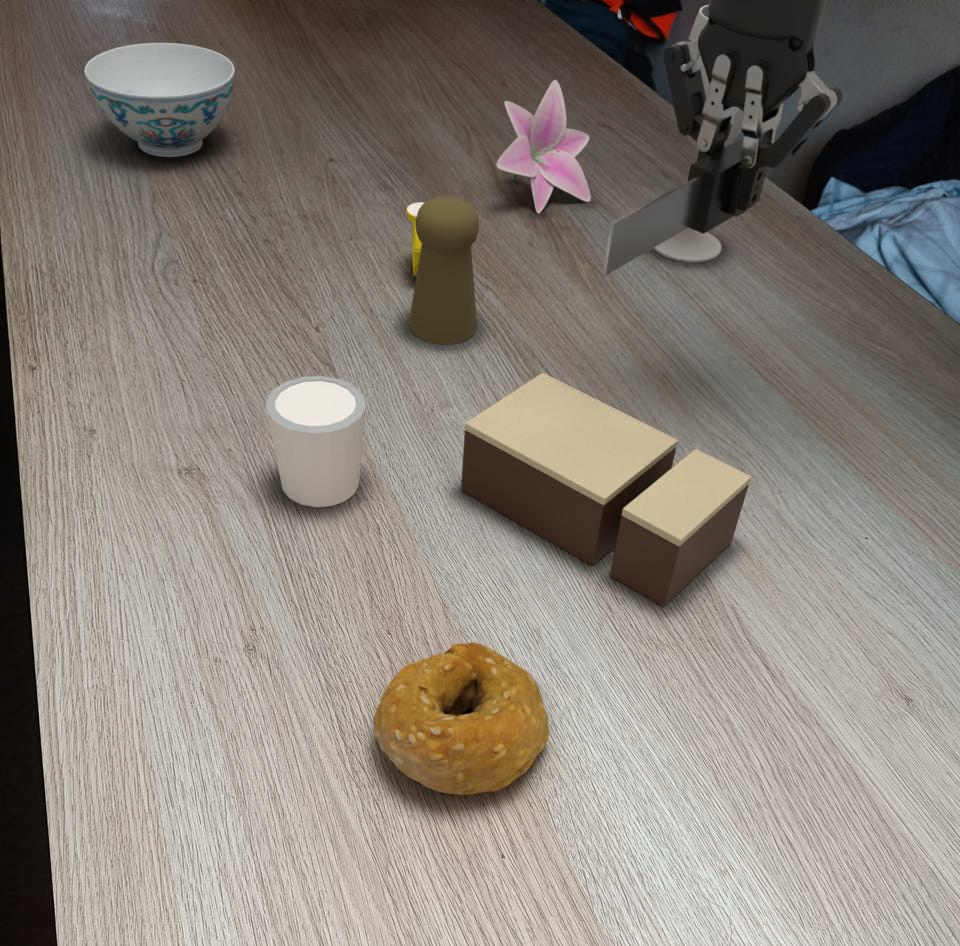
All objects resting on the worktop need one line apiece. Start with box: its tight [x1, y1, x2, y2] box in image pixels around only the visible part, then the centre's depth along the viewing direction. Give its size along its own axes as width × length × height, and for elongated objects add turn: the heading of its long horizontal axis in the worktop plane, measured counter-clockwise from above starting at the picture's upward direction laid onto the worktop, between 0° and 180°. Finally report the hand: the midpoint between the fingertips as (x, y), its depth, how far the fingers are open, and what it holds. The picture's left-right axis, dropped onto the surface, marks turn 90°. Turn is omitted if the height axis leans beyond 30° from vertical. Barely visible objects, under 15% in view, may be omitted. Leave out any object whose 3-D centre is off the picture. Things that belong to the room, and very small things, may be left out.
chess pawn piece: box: [408, 196, 480, 345], centre depth 93 cm, size 6×6×11 cm
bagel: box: [372, 642, 550, 796], centre depth 64 cm, size 10×11×5 cm
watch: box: [405, 201, 425, 278], centre depth 101 cm, size 6×3×6 cm, turn 4°
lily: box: [495, 79, 592, 214], centre depth 114 cm, size 12×12×10 cm
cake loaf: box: [460, 372, 679, 566], centre depth 79 cm, size 9×12×6 cm
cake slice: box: [609, 448, 752, 607], centre depth 75 cm, size 9×4×6 cm, turn 141°
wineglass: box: [652, 4, 743, 263], centre depth 103 cm, size 8×8×21 cm
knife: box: [602, 137, 769, 276], centre depth 79 cm, size 19×2×4 cm, turn 139°
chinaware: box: [84, 42, 236, 158], centre depth 116 cm, size 15×15×8 cm
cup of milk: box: [265, 375, 367, 508], centre depth 78 cm, size 7×7×7 cm
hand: (721, 205), depth 83 cm, fingers closed on knife, 2 cm apart
